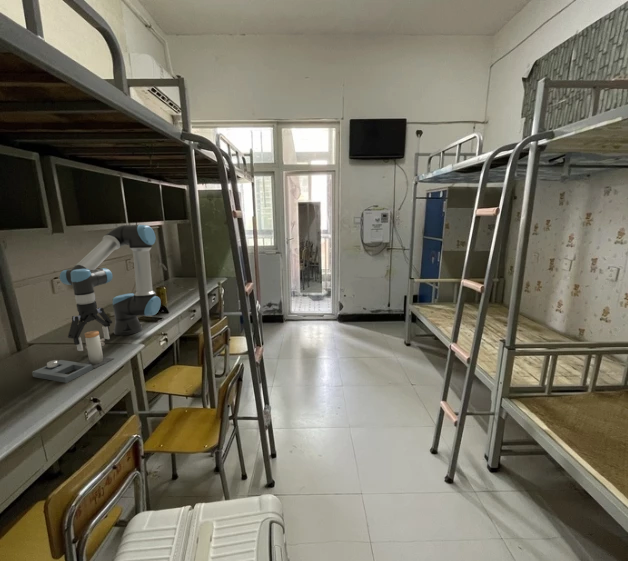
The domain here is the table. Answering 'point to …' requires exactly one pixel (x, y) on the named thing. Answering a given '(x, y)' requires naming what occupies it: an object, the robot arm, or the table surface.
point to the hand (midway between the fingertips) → (94, 344)
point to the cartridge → (94, 347)
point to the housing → (63, 371)
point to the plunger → (52, 364)
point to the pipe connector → (100, 341)
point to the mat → (100, 363)
